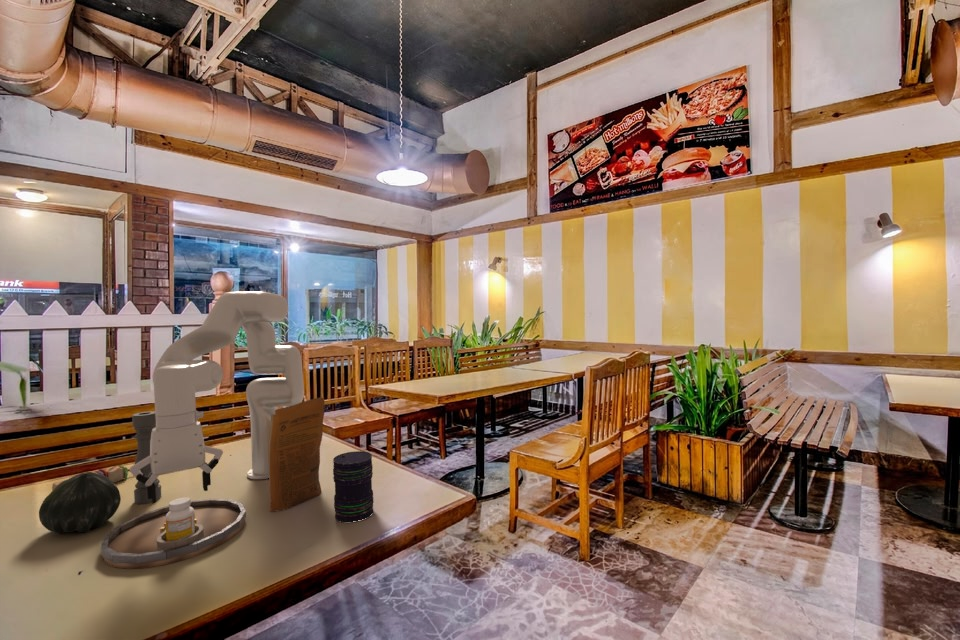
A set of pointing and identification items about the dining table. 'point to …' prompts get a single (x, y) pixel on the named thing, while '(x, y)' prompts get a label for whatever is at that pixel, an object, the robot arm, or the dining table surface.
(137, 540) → the carrier plate
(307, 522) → the dining table surface
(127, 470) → the skewer
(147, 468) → the candle holder
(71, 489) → the squash
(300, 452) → the pancake mix bag
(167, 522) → the supplement bottle
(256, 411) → the robot arm
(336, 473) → the black ridged cylinder
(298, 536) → the dining table surface
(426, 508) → the dining table surface
